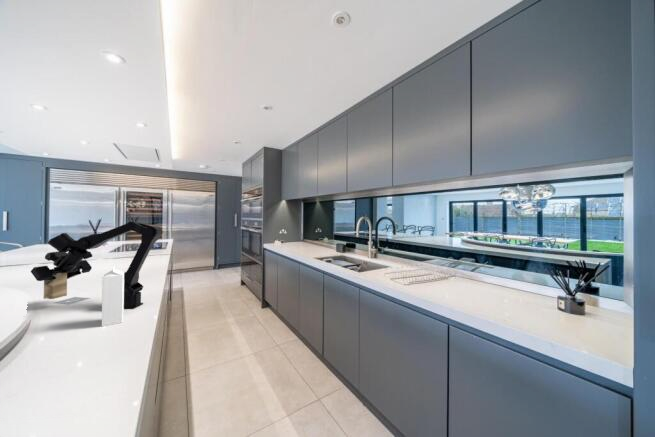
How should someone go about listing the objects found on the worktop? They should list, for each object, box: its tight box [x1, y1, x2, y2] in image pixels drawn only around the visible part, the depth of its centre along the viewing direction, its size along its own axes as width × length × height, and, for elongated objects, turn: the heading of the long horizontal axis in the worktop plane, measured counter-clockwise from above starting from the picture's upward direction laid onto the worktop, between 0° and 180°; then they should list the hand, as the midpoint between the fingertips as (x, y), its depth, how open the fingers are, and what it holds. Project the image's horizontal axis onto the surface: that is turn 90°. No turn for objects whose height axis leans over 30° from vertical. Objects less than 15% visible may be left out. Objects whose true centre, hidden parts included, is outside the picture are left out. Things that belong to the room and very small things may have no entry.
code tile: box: [53, 296, 91, 306], centre depth 116 cm, size 10×9×1 cm
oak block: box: [43, 273, 68, 300], centre depth 107 cm, size 5×5×12 cm
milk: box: [101, 265, 125, 327], centre depth 94 cm, size 6×6×22 cm
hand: (53, 282), depth 108 cm, fingers closed on oak block, 5 cm apart
